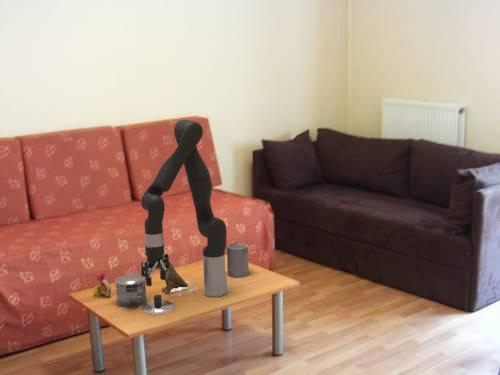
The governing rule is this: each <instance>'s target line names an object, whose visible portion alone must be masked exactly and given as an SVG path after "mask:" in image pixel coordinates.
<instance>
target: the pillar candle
mask: <svg viewBox="0 0 500 375" xmlns="http://www.w3.org/2000/svg"><path fill="white" fill-rule="evenodd" d="M226 257H227V258H226V259H227V261H226V264H227V277H228V276H229V277H230V278H234V279H235V278H237V279H240V278H245V277H247V276H249V272H250V271H249V270H250V268H249V245H248V244H247V243H245V242H232V243H229V244H226Z"/></svg>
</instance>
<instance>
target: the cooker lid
mask: <svg viewBox="0 0 500 375" xmlns="http://www.w3.org/2000/svg"><path fill="white" fill-rule="evenodd" d="M174 309H175V303H173V302H172V301H169V300H162V295H161V294H155V295H153V300H152V301H149V302H146V303H145V304H143V305H141V310H142V313H144V314H148V315H155V316H156V315H158V316H159V315H163V314H168V313H170V312H172V311H173V310H174Z"/></svg>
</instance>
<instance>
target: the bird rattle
mask: <svg viewBox="0 0 500 375" xmlns="http://www.w3.org/2000/svg"><path fill="white" fill-rule="evenodd" d="M105 276H106V274H105V270H103V271H101V273H100V275H97V274H94V277H96V279H97V281H99V282H98V283H99V284H98V285H95V286H94V291H93V295H96V296H97V297H100V296H101V294H103V295H105V296H106V298H109V297H111V292H112V288H111V285H110V283H109V282H108V280H107V279H106V278H105Z"/></svg>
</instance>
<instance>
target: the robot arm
mask: <svg viewBox="0 0 500 375" xmlns="http://www.w3.org/2000/svg"><path fill="white" fill-rule="evenodd" d="M203 133H204V130H203V127H202V125H201V124H200V123H199V122H197V121H194V120H189V119H180V120H178V121H177V122H176V123H175V125H174V128H173V135H174V138H175V141H176V144H177V147H176V148H175V150H174V151H173V152H172V154H171V155H170V156H169V157H168V158H167V159H166V160H165V161H164V162H163V163H162V165H161V167H160V168H159V170H158V172H157V174H156V176H155V178H154V181H153V182H152V183H151V184H150V185H149V187H148V188H146V190H145V192H144V193H143V195H142V197H141V200H140V205H141V208H142V209H144V210H145V211H147V218H145V220H144V254H145V256H146V261H143V260H142V261H141V263H140V268H141V269H140V271H141V272H140V273H141V276H143V277H146V280H145V283H146V287H152V285H153V284H152V283H153V282H152V275H153V273H154V272H155V270H157V269H159V273H160V274H159V278H160V280H162V281H165V279H166V270H167V268H169V262H170V258H169V253H165V242H164V241H165V238H164V229H163V226H164V225H163V222H164V221H163V220H164V215H165V210H166V209H165V208H166V207H165V206H166V205H165V201H164V199H163V198H162V196H163V194H164V193H167V192H169V191H170V189H171V187H172V185H173V184H174V182H175V179H176V177H177V176H178V174H179V173H180V170H181V168H182V167H184V169H185V170H184V171H185V173H186V174H185V175H186V178H187V182H188V187H189V190H190V193H191V198H192V201H193V205H194V210H195V217H196V224H197V228H198V233H199V234H200V235H201V236H203V237H204V238H206V239H207V240H206V241H207V242H206V243H207V244H206V246H204V247H203V248H202V260H203V261H202V266H203V289H204V296H207V297H211V298H212V297H213V298H216V297H217V298H218V297H221V296H225V295H228V278H227V277H228V272H226V271H227V270H226V250H227V238H228V237H227V234H228V233H227V225H226V223H225V221H224V219H223V220H222V219H221V218H219V217H215V214H214V212H213V209H212V204H211V199H212V193H213V192H212V191H213V182H212V178H211V175H210V170H209V169H208V166H207V165H206V163H205V162H204V159H203V158H202V157H201V154H200V152H199V151H198V146H197V145H198V144H199V142H200V141H201V139H202V137H203V135H204V134H203ZM165 262H166V264H165Z"/></svg>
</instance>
